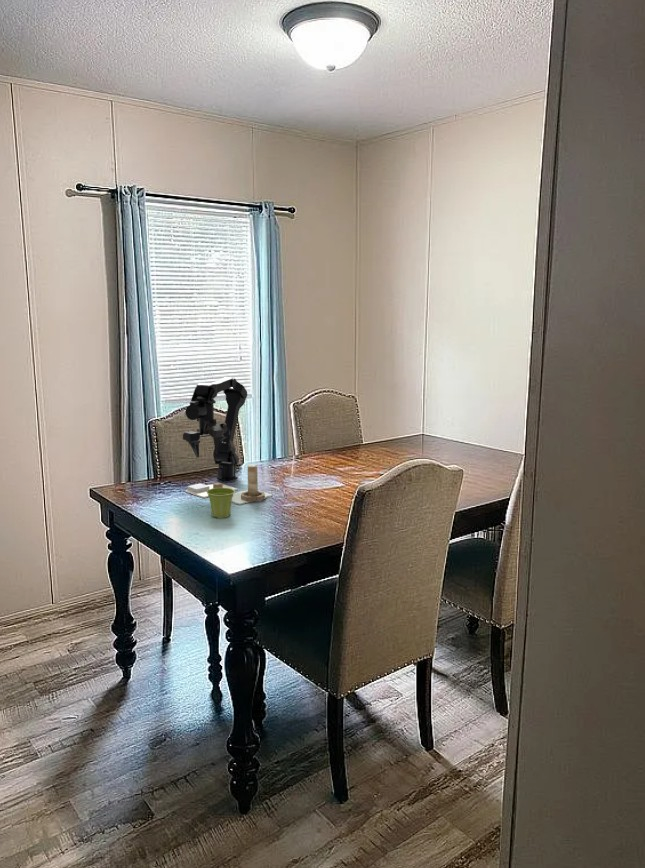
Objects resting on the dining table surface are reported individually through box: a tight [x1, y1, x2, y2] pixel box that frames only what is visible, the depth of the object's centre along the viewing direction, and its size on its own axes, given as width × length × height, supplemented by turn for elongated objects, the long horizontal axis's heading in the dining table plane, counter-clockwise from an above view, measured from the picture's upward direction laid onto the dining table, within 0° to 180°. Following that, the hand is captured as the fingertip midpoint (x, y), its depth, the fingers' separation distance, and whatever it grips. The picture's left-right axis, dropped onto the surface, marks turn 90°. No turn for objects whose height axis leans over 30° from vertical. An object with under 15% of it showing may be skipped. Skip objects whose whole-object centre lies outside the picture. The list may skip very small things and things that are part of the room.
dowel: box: [247, 464, 259, 497], centre depth 248 cm, size 4×4×12 cm
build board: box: [231, 489, 273, 506], centre depth 251 cm, size 16×14×2 cm
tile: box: [185, 482, 239, 499], centre depth 260 cm, size 16×12×4 cm
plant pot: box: [207, 488, 236, 519], centre depth 230 cm, size 9×9×9 cm
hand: (207, 455), depth 263 cm, fingers open, 9 cm apart
